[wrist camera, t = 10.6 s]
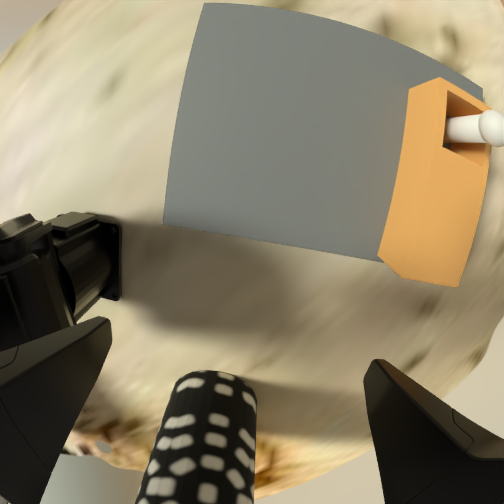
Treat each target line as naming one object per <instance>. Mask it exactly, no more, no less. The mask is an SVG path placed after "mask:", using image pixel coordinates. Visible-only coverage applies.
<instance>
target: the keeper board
mask: <svg viewBox="0 0 504 504" xmlns="http://www.w3.org/2000/svg"><path fill="white" fill-rule="evenodd" d="M438 77H441V78H443V79H445V80H446V81H448V82H450V83H452V84H454V85H455V86H457V87H459V88H460V89H462V90H464V91H465V92H467V93H469V94H470V95H472V96H473V97H475V98H476V99H478V100H480V101H481V102H482V98H483V89H482V88H481V87H480V86H478V85H477V84H475V83H474V82H472V81H470V80H469V79H467V78H466V77H464V76H462V75H461V74H459V73H457V72H456V71H454V70H452V69H451V68H449V67H447V66H445V65H444V64H442V63H440V62H438V61H436V60H434V59H432V58H430V57H428V56H426V55H424V54H422V53H420V52H418V51H416V50H414V49H412V48H410V47H407V46H405V45H403V44H401V43H398V42H396V41H393V40H391V39H389V38H386V37H383V36H381V35H378V34H375V33H373V32H370V31H367V30H364V29H361V28H358V27H355V26H352V25H349V24H345V23H342V22H338V21H335V20H331V19H327V18H323V17H319V16H315V15H310V14H305V13H301V12H295V11H290V10H284V9H278V8H271V7H263V6H254V5H244V4H229V3H204V5H203V9H202V12H201V15H200V19H199V22H198V26H197V29H196V33H195V37H194V40H193V44H192V48H191V52H190V56H189V61H188V65H187V69H186V74H185V78H184V83H183V87H182V92H181V97H180V102H179V108H178V113H177V119H176V124H175V130H174V136H173V143H172V149H171V156H170V163H169V171H168V179H167V187H166V196H165V206H164V216H163V225H169V226H175V227H181V228H187V229H194V230H200V231H206V232H212V233H218V234H224V235H230V236H236V237H242V238H248V239H254V240H259V241H265V242H271V243H277V244H283V245H288V246H294V247H300V248H306V249H311V250H317V251H322V252H328V253H334V254H339V255H345V256H350V257H356V258H361V259H367V260H372V261H377V262H383V263H385V262H384V261H383V260H382V259H381V258H379V257H378V256H377V254H378V251H379V247H380V244H381V240H382V236H383V233H384V229H385V225H386V221H387V217H388V213H389V209H390V205H391V200H392V196H393V191H394V186H395V182H396V177H397V171H398V166H399V161H400V155H401V149H402V142H403V136H404V129H405V121H406V113H407V104H408V93H409V89H410V88H413V87H415V86H418V85H420V84H423V83H425V82H428V81H430V80H433V79H436V78H438ZM451 143H488V144H489V145H491V146H494V147H501V146H504V115H502V114H501V113H500V112H498V111H496V110H486V111H484V112H483V113H482V114H479V115H470V116H461V117H454V118H452V117H450V116H448V115H446V118H445V128H444V137H443V145H442V147H444V148H446V149H448V150H450V145H451Z"/></svg>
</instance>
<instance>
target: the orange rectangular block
mask: <svg viewBox="0 0 504 504" xmlns="http://www.w3.org/2000/svg"><path fill="white" fill-rule="evenodd" d="M486 110H493V109H491V108H490V107H488V106H487V105H485V104H484V103H483V102H481V101H480V100H478V99H476V98H475V97H473V96H472V95H470V94H469V93H467V92H465V91H464V90H462V89H460V88H459V87H457V86H455V85H454V84H452V83H450V82H448V81H446V80H445V79H443V78H441V77H438V78H436V79H433V80H430V81H428V82H425V83H423V84H420V85H418V86H415V87H413V88H410V89H409V93H408V104H407V113H406V121H405V129H404V136H403V142H402V149H401V155H400V161H399V166H398V171H397V177H396V182H395V186H394V191H393V196H392V200H391V205H390V209H389V213H388V217H387V221H386V225H385V229H384V233H383V236H382V240H381V244H380V247H379V251H378V254H377V256H378V257H379V258H381V259H382V260H383V261H384V262H385V263H386V264H387V265H388V266H389V267H390V268H391V269H393V270H394V271H395V272H396V273H397V274H398V275H399V276H400V277H401V278H404V279H410V280H415V281H421V282H427V283H433V284H439V285H445V286H451V287H458V285H459V282H460V279H461V276H462V274H463V271H464V268H465V265H466V262H467V259H468V256H469V252H470V249H471V246H472V242H473V239H474V235H475V232H476V228H477V224H478V220H479V216H480V212H481V207H482V202H483V197H484V192H485V187H486V181H487V175H488V168H489V161H490V152H491V145H489V144H488V143H451V145H450V150H448V149H446V148H444V147H442V145H443V137H444V128H445V118H446V115H448V116H450V117H452V118H454V117H461V116H470V115H479V114H482V113H483V112H484V111H486Z"/></svg>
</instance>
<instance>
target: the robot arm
mask: <svg viewBox="0 0 504 504" xmlns="http://www.w3.org/2000/svg"><path fill="white" fill-rule="evenodd" d="M113 227H115V228H116V232H115V231H114V230H113ZM121 233H122V229H121V226H120V224H119V223H117V222H111V221H105V220H98V218H97V217H96V216H95V215H91V214H84V213H77V212H70V213H67V214H60V215H58V216H57V217H56V218H54V219H51V220H48V221H46V222H42V221H37V220H35V219H34V218H33V216H32V215H31V214H30V213H29V214H25V215H22V216H19V217H16V218H13V219H11V220H8V221H6V222H4V223H2V224H0V504H8V503H10V504H40V501H41V498H42V496H43V494H44V491H45V488H46V486H47V484H48V481H49V479H50V476H51V472H52V471H53V469H54V467H55V464H56V462H57V459H58V457H59V455H60V453H61V451H62V449H63V446H64V444H65V442H66V440H67V438H68V436H69V434H70V432H71V430H72V427H73V425H74V423H75V421H76V419H77V417H78V415H79V413H80V411H81V409H82V407H83V406H84V404H85V402H86V400H87V398H88V396H89V394H90V392H91V390H92V388H93V386H94V385H95V383H96V381H97V379H98V376H99V374H100V372H101V369H102V367H103V364H104V362H105V359H106V357H107V354H108V352H109V350H110V347H111V345H112V331H111V323H110V320H109V319H108V318H104V317H101V316H98V317H95V318H92V319H89V320H87V321H84V322H81V323H79V324H77V323H76V322H77V321H78V320H79V319H80V318H81V317H82V316H83V315H84V314H85V313H86V312H87V311H88V310H89V309H90V308H91V307H92V306H93V305H94V304H95V303H96V302H97V301H98V300H99V299H100V298H101V297H102V298H106V299H109V300H113V301H118V300H119V299H120V298H121V297H122V287H121ZM114 293H116V294H117V296H115V294H114ZM363 383H364V391H365V398H366V406H367V414H368V420H369V424H370V429H371V433H372V438H373V442H374V447H375V451H376V457H377V461H378V467H379V471H380V477H381V483H382V489H383V494H384V501H385V504H504V439H502V438H500V437H498V436H497V435H495V434H493V433H491V432H490V431H488V430H486V429H484V428H483V427H481V426H479V425H478V424H476V423H474V422H473V421H471V420H469V419H468V418H466V417H465V416H463V415H462V414H460V413H459V412H457V411H456V410H455V409H453V408H451V407H450V406H449V405H447V404H446V403H445V402H443V401H442V400H440V399H439V398H438V397H436V396H435V395H433V394H432V393H431V392H429V391H428V390H426V389H425V388H424V387H422V386H421V385H419V384H418V383H416V382H415V381H414V380H412V379H411V378H409V377H408V376H407V375H405V374H404V373H403V372H401V371H400V370H398V369H397V368H396V367H394V366H393V365H391V364H390V363H389V362H387V361H386V360H384V359H374V360H373V361H372V362H371V364H370V366H369V368H368V370H367V372H366V374H365V376H364V380H363Z"/></svg>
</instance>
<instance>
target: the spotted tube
mask: <svg viewBox="0 0 504 504" xmlns="http://www.w3.org/2000/svg"><path fill="white" fill-rule="evenodd" d="M256 416H257V399H256V395H255V393H254V392H253V390H252V389H251V388H250V387H249V385H247V384H246V383H245V382H243V381H242V380H240V379H238V378H236V377H234V376H232V375H229V374H226V373H222V372H218V371H196V372H191V373H189V374H186V375H184V376H183V377H181V378H180V379H179V380H178V381H177V382H176V383H175V386H174V388H173V391H172V393H171V396H170V399H169V402H168V405H167V408H166V411H165V413H164V416H163V419H162V422H161V425H160V428H159V431H158V434H157V437H156V440H155V443H154V446H153V449H152V452H151V455H150V458H149V461H148V464H147V467H146V470H145V473H144V476H143V480H142V483H141V486H140V489H139V492H138V495H137V499H136V502H135V504H253V503H254V478H255V449H256Z"/></svg>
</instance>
